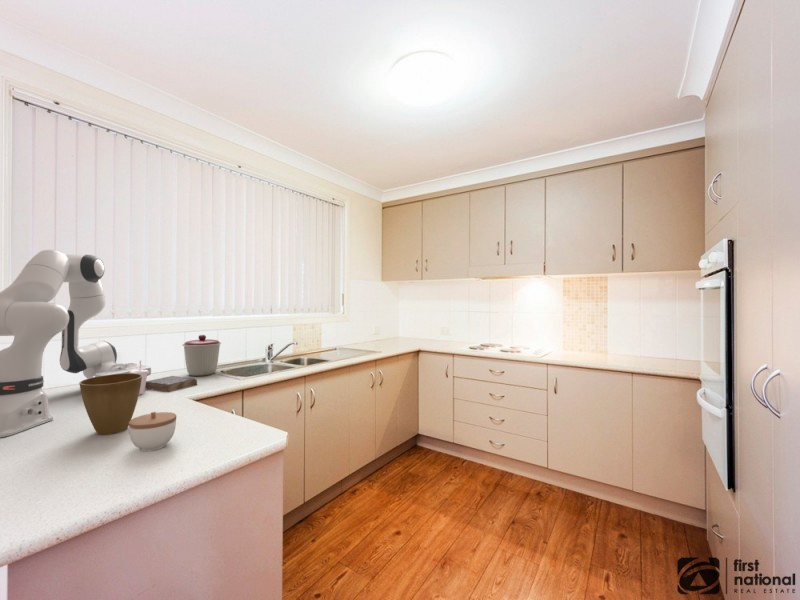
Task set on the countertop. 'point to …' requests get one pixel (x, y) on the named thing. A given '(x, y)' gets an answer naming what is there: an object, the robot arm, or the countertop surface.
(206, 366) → the canister
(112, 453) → the countertop surface
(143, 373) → the smoothie
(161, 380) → the dark brown flat slab
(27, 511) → the countertop surface
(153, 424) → the lidded jar
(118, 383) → the plant pot
